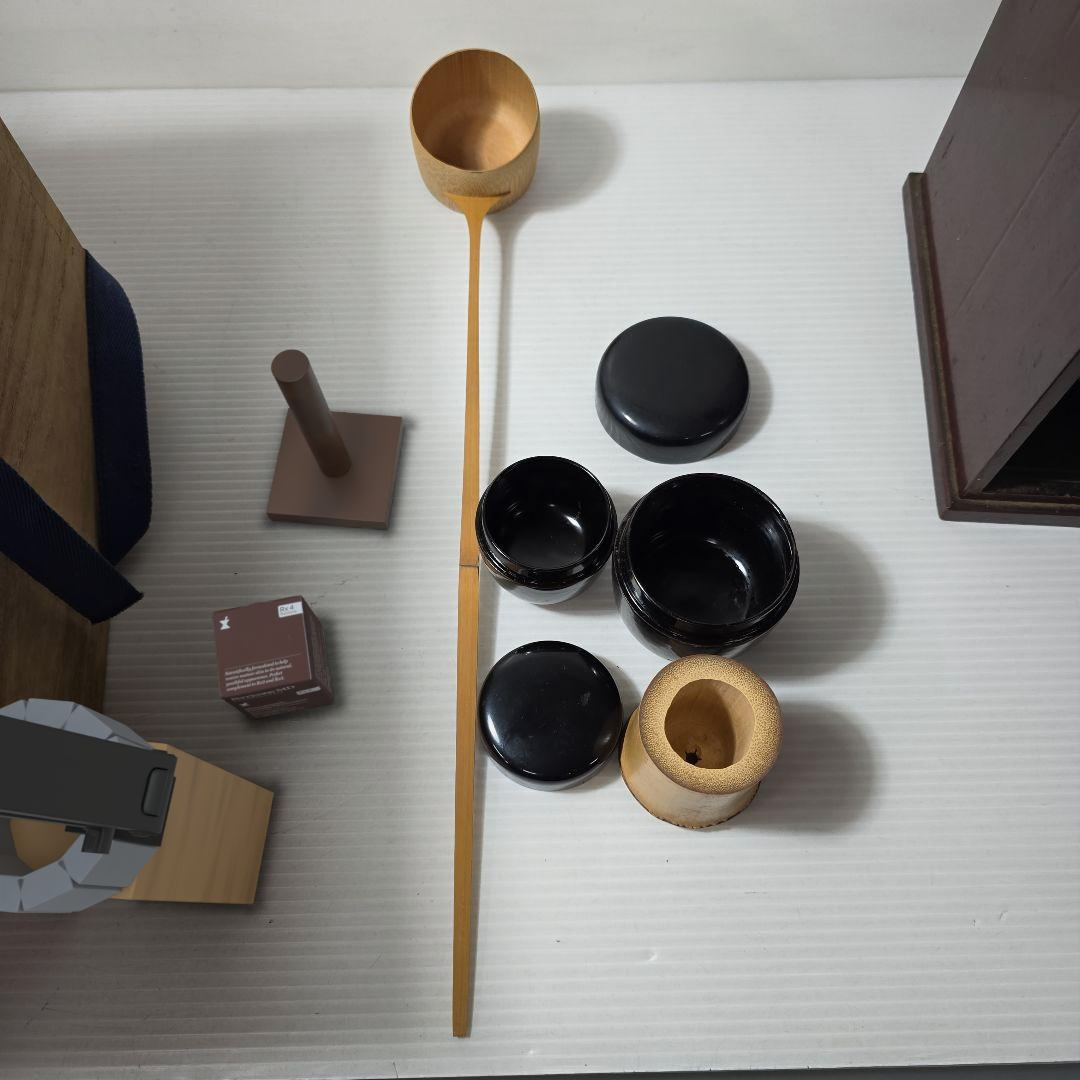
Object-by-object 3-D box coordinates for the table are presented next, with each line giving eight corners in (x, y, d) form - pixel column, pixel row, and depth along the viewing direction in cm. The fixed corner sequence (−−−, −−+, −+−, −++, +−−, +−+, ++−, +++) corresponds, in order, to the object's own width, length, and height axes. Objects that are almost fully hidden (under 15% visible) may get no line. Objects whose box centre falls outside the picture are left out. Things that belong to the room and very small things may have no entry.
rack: (271, 520, 73) (203, 423, 58) (292, 416, 76) (234, 300, 62) (387, 530, 72) (349, 434, 58) (404, 425, 76) (371, 310, 61)
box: (250, 721, 67) (216, 699, 60) (242, 640, 69) (209, 610, 62) (336, 704, 68) (312, 680, 61) (325, 623, 70) (301, 592, 63)
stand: (146, 894, 63) (-21, 885, 44) (171, 782, 66) (24, 730, 47) (253, 904, 63) (131, 900, 44) (274, 792, 65) (167, 743, 47)
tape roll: (-43, 902, 44) (-112, 900, 39) (12, 713, 47) (-45, 691, 43) (144, 920, 44) (97, 920, 39) (187, 728, 47) (148, 708, 42)
